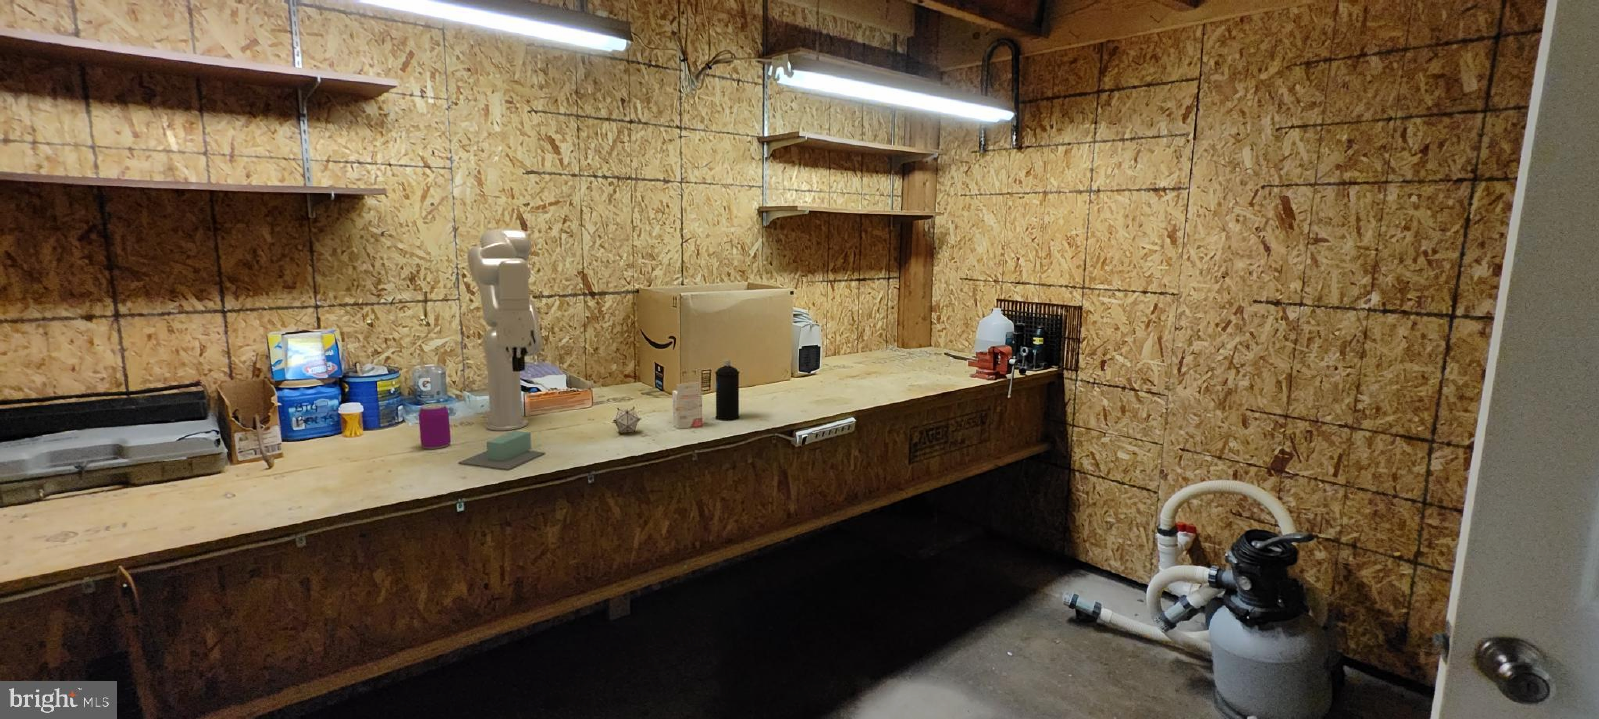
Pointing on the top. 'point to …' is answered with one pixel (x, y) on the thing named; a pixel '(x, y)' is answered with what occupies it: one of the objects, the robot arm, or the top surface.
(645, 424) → the top surface
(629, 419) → the game die
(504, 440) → the teal block
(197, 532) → the top surface
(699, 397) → the ink cartridge box
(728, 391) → the aerosol can
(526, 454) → the mat
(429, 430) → the beverage can
